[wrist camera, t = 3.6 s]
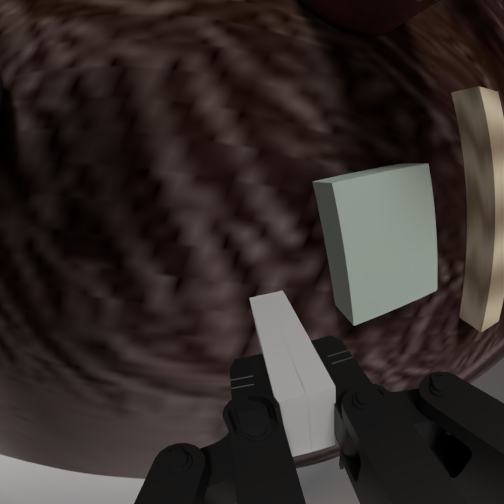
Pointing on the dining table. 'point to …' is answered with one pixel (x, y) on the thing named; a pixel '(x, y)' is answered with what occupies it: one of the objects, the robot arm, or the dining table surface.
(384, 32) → the vase
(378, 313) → the block
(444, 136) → the dining table surface
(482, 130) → the curved wooden bar
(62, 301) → the dining table surface
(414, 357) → the dining table surface
